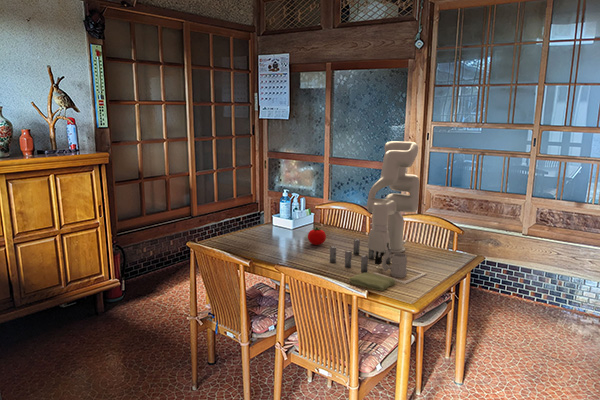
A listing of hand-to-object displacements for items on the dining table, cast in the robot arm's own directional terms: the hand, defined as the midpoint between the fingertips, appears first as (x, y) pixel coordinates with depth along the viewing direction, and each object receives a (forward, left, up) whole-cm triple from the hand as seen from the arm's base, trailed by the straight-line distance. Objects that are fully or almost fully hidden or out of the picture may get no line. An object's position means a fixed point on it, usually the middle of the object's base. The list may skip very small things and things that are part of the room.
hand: (378, 263), depth 226 cm
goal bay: (0, +12, -2) cm, 12 cm away
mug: (+2, +11, -2) cm, 11 cm away
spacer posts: (0, -11, -2) cm, 11 cm away
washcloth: (+19, +10, -3) cm, 22 cm away
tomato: (-7, -48, -2) cm, 49 cm away
